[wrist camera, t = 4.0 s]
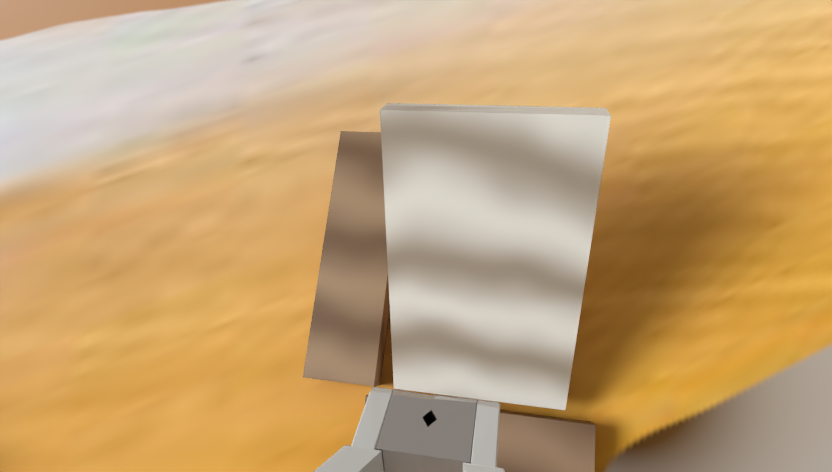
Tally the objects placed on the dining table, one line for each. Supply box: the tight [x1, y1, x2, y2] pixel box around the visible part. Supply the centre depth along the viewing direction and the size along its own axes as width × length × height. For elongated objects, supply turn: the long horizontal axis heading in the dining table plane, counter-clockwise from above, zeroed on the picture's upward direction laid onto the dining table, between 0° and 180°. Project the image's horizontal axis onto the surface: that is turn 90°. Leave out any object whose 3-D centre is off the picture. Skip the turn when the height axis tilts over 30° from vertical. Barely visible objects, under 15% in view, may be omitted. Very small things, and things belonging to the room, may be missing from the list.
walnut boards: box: [303, 131, 596, 472], centre depth 38 cm, size 31×21×2 cm
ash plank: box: [380, 103, 611, 410], centre depth 31 cm, size 20×12×2 cm
